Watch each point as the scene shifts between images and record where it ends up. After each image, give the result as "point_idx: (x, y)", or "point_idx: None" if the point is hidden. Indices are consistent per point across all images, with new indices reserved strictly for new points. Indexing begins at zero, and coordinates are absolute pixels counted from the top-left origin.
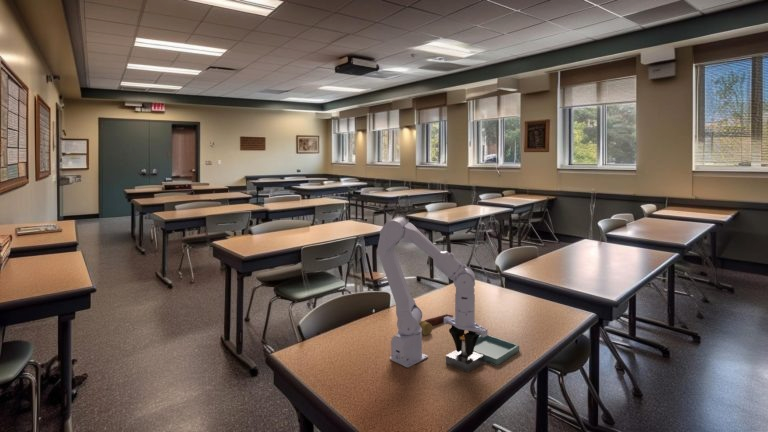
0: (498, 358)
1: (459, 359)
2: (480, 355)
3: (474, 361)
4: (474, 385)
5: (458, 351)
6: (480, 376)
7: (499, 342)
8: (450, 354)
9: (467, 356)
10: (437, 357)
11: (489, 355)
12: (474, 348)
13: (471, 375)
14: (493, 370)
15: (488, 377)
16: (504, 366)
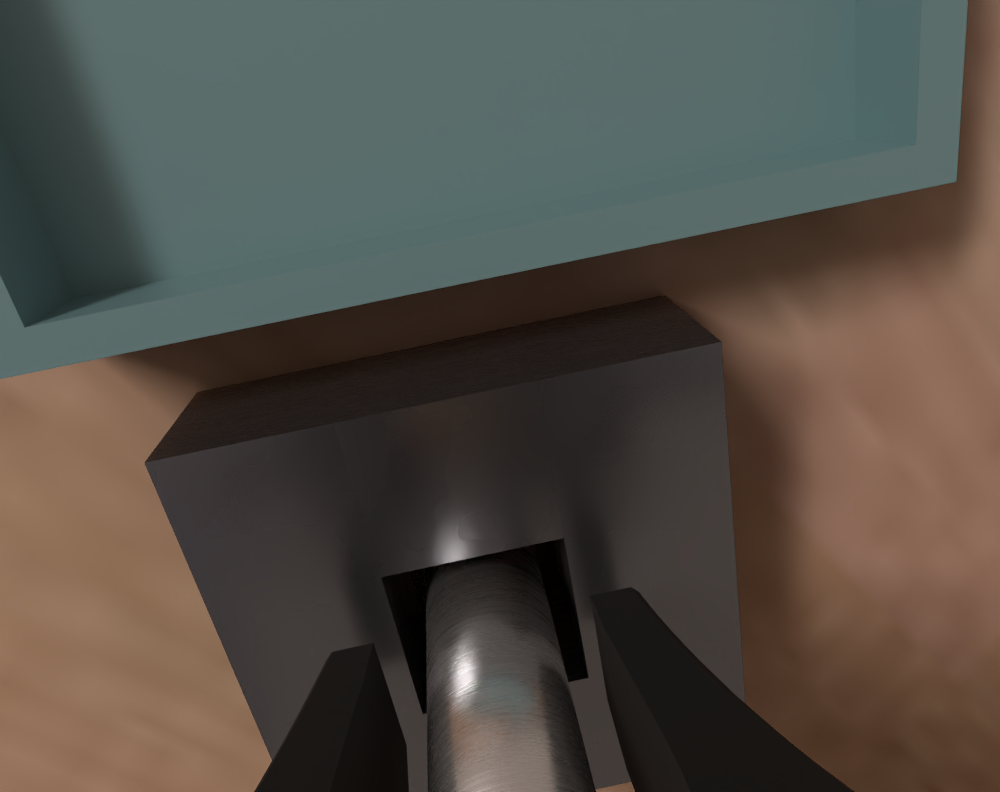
0: (955, 103)
1: None
2: (686, 402)
3: (733, 599)
4: (930, 745)
5: (406, 750)
6: (871, 585)
7: None
8: None
9: (549, 611)
10: (107, 741)
11: (751, 177)
12: (119, 22)
13: (774, 655)
14: (916, 331)
15: (962, 521)
16: (989, 60)
